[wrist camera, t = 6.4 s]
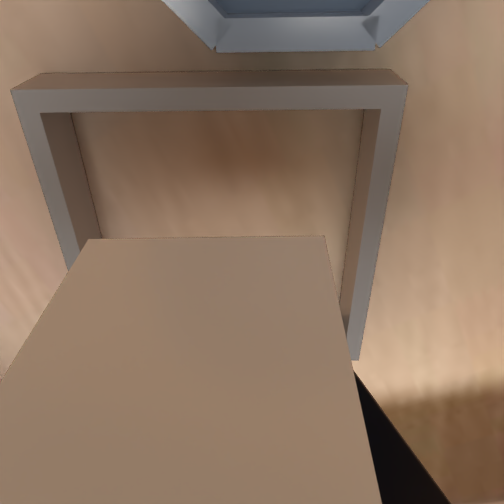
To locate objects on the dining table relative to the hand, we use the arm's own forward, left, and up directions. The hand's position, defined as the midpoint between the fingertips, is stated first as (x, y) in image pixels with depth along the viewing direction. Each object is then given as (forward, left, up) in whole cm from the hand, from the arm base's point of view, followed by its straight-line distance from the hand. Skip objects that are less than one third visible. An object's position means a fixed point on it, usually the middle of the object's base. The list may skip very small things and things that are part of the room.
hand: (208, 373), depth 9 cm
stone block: (0, 0, -2) cm, 2 cm away
